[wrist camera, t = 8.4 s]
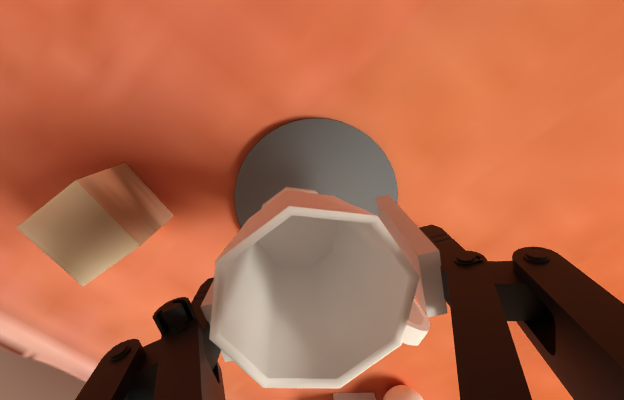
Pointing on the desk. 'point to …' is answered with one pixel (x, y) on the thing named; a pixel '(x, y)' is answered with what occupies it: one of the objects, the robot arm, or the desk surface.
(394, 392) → the ball
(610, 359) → the robot arm
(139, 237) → the birch block
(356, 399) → the greyblue block
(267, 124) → the desk surface
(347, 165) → the coaster
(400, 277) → the cup
